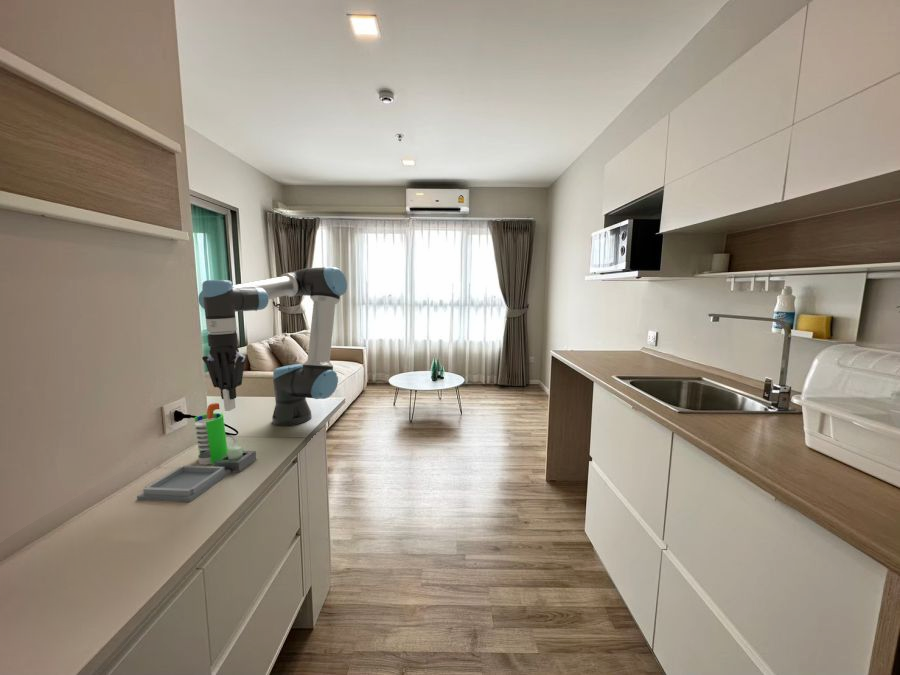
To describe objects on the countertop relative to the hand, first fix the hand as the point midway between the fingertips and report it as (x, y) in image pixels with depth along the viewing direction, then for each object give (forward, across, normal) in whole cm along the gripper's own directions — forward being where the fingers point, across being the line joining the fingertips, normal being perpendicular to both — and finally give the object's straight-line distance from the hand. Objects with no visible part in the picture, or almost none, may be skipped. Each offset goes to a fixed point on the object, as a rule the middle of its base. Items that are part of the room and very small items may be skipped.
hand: (230, 409), depth 110 cm
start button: (+17, 0, 0) cm, 17 cm away
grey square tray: (+18, -6, -12) cm, 23 cm away
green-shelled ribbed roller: (+18, -11, +4) cm, 22 cm away
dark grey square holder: (+18, 0, 0) cm, 18 cm away
